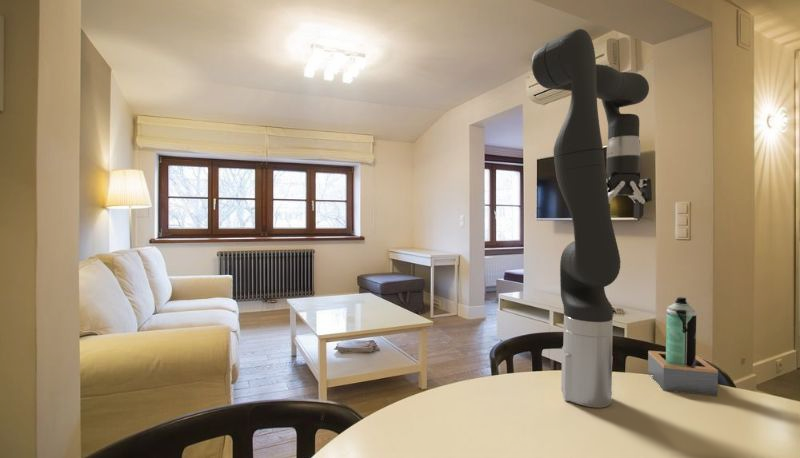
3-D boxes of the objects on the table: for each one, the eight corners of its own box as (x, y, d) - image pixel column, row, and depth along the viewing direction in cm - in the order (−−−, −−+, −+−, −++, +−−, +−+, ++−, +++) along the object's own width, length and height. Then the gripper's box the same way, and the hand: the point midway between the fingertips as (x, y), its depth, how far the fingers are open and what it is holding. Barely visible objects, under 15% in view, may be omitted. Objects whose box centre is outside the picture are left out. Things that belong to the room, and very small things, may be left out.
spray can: (700, 390, 84) (702, 300, 84) (672, 388, 85) (674, 299, 85) (686, 380, 89) (688, 295, 89) (661, 378, 91) (662, 294, 90)
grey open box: (663, 390, 84) (663, 365, 84) (647, 373, 94) (648, 350, 94) (717, 396, 81) (718, 370, 81) (695, 378, 91) (696, 354, 91)
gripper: (605, 153, 95) (604, 218, 95) (659, 154, 96) (658, 218, 96) (588, 158, 102) (587, 218, 102) (639, 158, 103) (638, 218, 103)
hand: (622, 218), depth 99 cm, fingers open, 8 cm apart
